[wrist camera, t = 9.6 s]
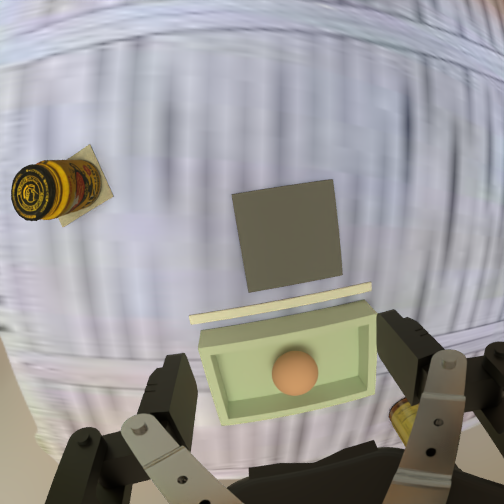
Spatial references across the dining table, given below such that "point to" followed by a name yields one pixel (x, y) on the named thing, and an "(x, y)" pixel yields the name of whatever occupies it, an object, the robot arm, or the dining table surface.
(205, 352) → the tray
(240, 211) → the mat
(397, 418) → the sauce bottle
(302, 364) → the ball
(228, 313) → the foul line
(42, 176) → the condiment
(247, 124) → the dining table surface
